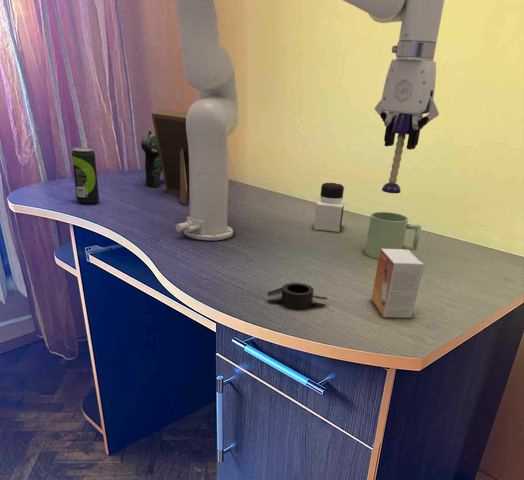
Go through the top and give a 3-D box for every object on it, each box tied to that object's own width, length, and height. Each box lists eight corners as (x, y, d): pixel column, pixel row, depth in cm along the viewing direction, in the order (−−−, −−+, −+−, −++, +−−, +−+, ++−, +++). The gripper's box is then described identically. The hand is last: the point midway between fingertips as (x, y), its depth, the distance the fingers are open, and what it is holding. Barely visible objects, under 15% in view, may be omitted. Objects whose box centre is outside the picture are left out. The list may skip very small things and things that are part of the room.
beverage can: (102, 204, 153) (97, 150, 145) (81, 205, 149) (75, 151, 142) (95, 199, 157) (90, 147, 150) (74, 201, 154) (68, 147, 146)
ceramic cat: (152, 188, 174) (149, 124, 164) (138, 185, 177) (135, 122, 167) (190, 181, 189) (190, 121, 179) (177, 178, 192) (176, 119, 182)
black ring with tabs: (285, 290, 102) (286, 276, 101) (329, 304, 97) (331, 290, 96) (263, 301, 97) (264, 287, 95) (308, 317, 92) (310, 302, 90)
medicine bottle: (339, 232, 141) (345, 187, 135) (313, 229, 142) (318, 184, 136) (341, 226, 147) (347, 182, 141) (316, 223, 148) (321, 180, 142)
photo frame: (174, 189, 175) (172, 108, 163) (226, 200, 166) (228, 115, 154) (144, 196, 164) (139, 110, 152) (197, 208, 154) (197, 117, 142)
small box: (370, 300, 100) (379, 247, 95) (398, 300, 101) (409, 248, 96) (382, 318, 93) (393, 262, 88) (412, 318, 94) (424, 263, 89)
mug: (365, 257, 123) (371, 219, 119) (364, 247, 131) (370, 210, 126) (416, 263, 122) (424, 224, 117) (413, 252, 129) (420, 215, 125)
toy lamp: (404, 191, 120) (418, 113, 112) (400, 195, 116) (414, 114, 108) (383, 188, 122) (396, 111, 114) (379, 192, 118) (391, 112, 110)
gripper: (370, 50, 108) (357, 143, 116) (448, 53, 99) (428, 154, 107) (387, 52, 113) (374, 141, 122) (462, 55, 104) (442, 151, 113)
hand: (399, 146), depth 114 cm, fingers closed on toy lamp, 4 cm apart
